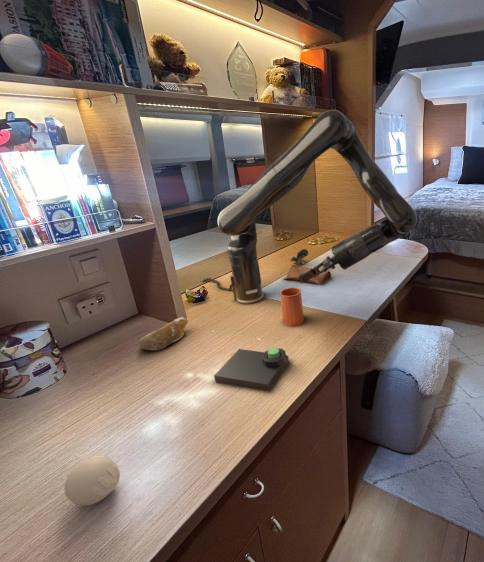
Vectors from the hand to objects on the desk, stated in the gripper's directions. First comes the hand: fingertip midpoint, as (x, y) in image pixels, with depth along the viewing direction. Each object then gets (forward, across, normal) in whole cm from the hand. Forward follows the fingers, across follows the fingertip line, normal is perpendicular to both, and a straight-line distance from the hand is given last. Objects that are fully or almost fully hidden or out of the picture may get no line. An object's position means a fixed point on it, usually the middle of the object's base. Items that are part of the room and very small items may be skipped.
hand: (300, 280), depth 98 cm
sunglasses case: (+8, -36, +2) cm, 37 cm away
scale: (+16, +20, +13) cm, 29 cm away
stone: (+42, +7, -4) cm, 42 cm away
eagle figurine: (+11, -52, -5) cm, 53 cm away
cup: (+10, -4, +10) cm, 15 cm away
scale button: (+10, +18, +13) cm, 24 cm away
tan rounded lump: (+34, +50, +13) cm, 62 cm away
